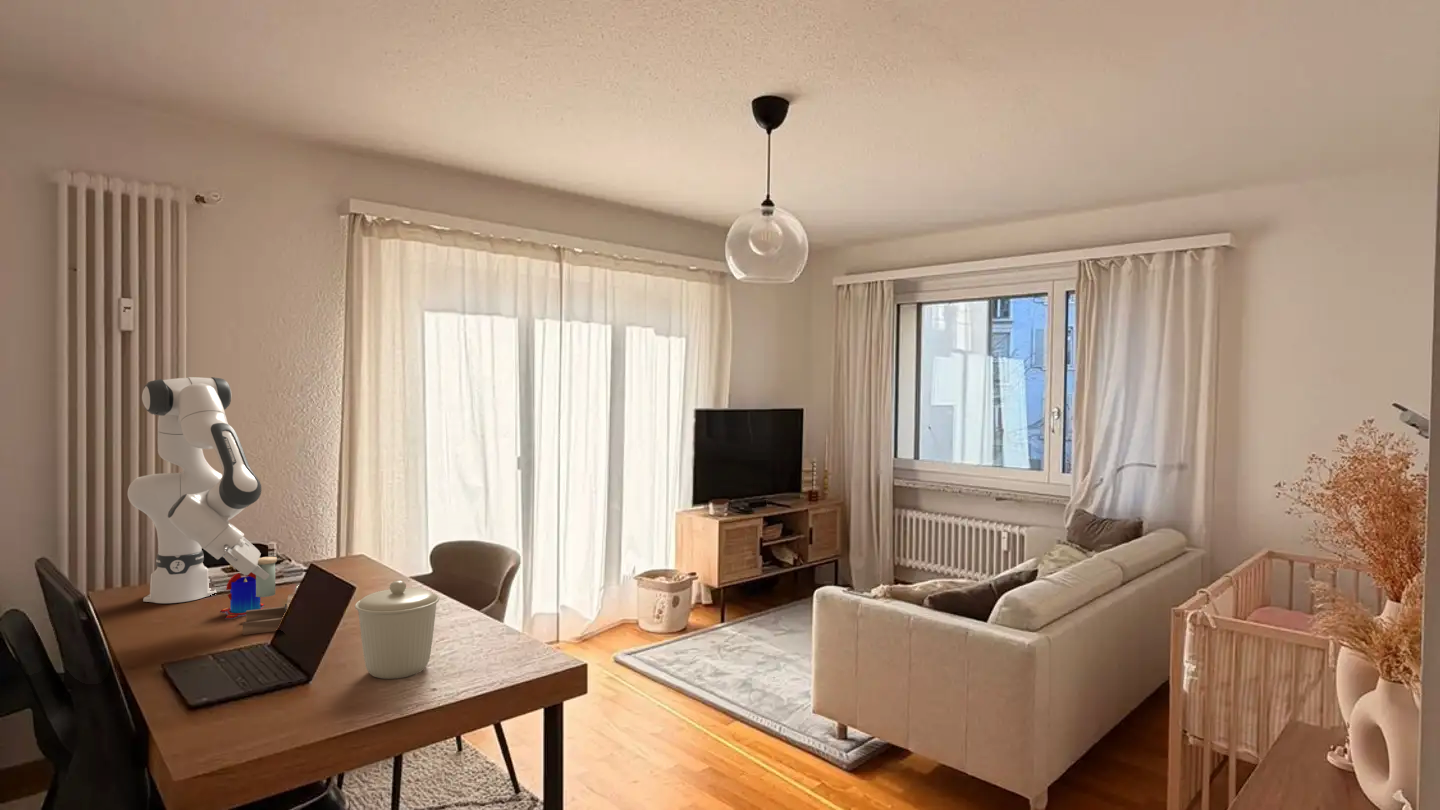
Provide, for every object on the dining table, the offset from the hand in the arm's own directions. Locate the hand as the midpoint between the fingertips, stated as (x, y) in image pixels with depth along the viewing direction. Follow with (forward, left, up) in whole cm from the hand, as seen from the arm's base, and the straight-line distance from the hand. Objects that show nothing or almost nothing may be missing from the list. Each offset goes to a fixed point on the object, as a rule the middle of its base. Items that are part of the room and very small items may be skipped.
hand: (268, 575), depth 214 cm
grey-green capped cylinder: (0, -1, -5) cm, 5 cm away
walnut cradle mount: (0, 0, -14) cm, 14 cm away
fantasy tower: (-18, -7, -14) cm, 24 cm away
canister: (+54, +28, -14) cm, 63 cm away
